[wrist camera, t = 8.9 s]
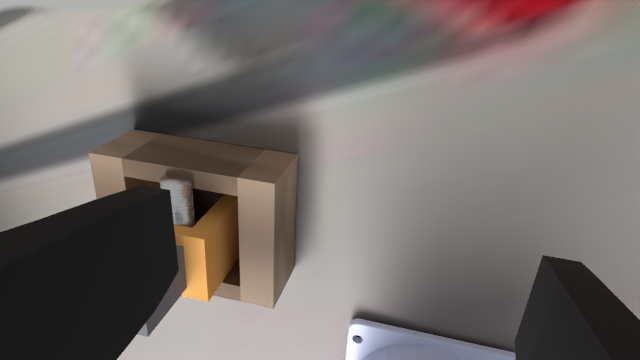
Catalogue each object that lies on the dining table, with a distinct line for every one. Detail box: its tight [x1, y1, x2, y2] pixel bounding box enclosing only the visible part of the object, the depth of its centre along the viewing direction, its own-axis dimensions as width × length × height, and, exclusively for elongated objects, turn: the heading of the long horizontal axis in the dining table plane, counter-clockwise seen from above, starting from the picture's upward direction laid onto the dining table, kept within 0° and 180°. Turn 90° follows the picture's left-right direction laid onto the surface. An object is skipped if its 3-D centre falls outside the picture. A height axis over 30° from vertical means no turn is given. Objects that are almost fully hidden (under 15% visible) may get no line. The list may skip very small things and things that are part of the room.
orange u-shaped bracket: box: [137, 194, 239, 337], centre depth 19 cm, size 3×3×7 cm
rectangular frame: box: [89, 129, 298, 308], centre depth 21 cm, size 6×8×4 cm
